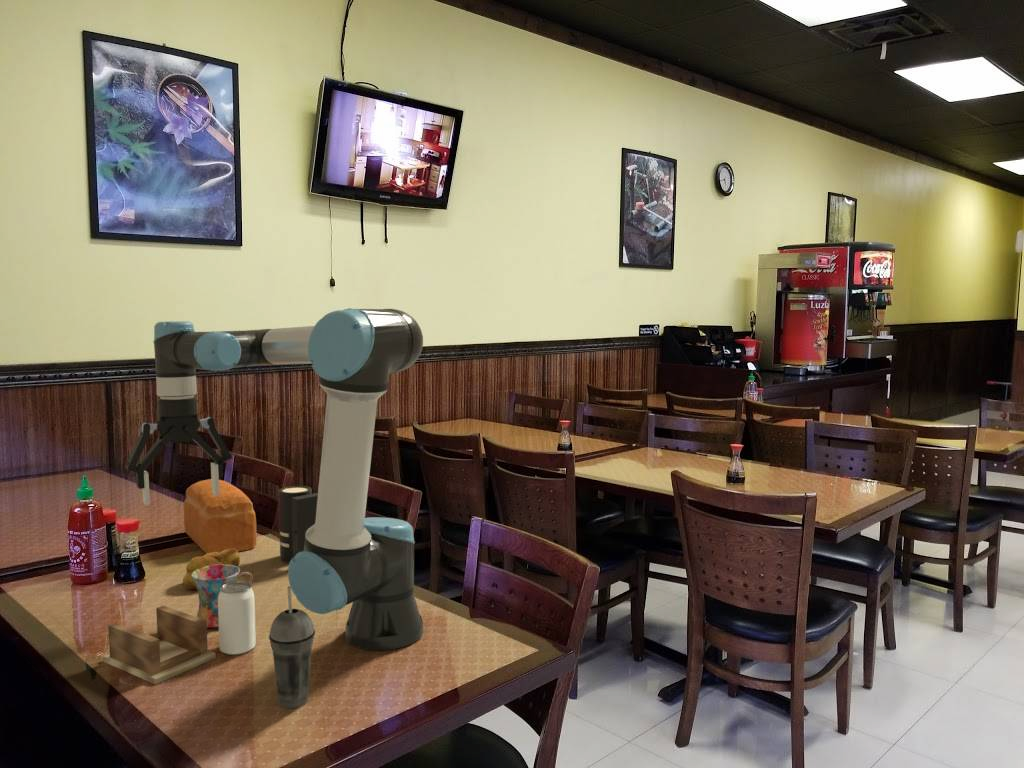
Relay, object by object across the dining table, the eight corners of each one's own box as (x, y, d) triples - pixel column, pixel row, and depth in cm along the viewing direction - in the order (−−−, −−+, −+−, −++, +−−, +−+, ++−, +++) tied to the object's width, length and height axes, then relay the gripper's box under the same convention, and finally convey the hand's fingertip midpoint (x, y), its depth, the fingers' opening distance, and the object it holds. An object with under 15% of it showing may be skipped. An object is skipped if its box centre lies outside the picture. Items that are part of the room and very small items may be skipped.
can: (243, 637, 154) (241, 578, 153) (262, 647, 150) (260, 586, 149) (212, 649, 149) (210, 587, 148) (231, 659, 145) (229, 596, 144)
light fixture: (306, 549, 208) (305, 483, 206) (333, 562, 198) (332, 493, 196) (271, 557, 201) (269, 489, 199) (297, 571, 191) (296, 499, 189)
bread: (231, 525, 230) (230, 472, 228) (260, 549, 209) (258, 490, 207) (181, 533, 222) (179, 478, 220) (205, 558, 201) (203, 497, 199)
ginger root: (191, 596, 175) (190, 561, 175) (171, 585, 182) (170, 551, 181) (245, 581, 185) (244, 548, 184) (224, 571, 191) (223, 539, 191)
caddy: (215, 658, 145) (214, 621, 144) (155, 684, 135) (154, 645, 134) (162, 637, 154) (161, 603, 153) (102, 661, 144) (100, 624, 143)
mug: (200, 635, 155) (198, 583, 154) (187, 620, 162) (185, 570, 161) (261, 620, 162) (259, 570, 161) (245, 606, 170) (244, 558, 168)
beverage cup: (320, 690, 134) (318, 576, 132) (311, 712, 126) (308, 592, 124) (277, 690, 133) (274, 576, 131) (265, 713, 126) (261, 592, 124)
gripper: (233, 391, 172) (237, 486, 174) (106, 399, 157) (112, 504, 159) (244, 394, 166) (248, 493, 168) (113, 403, 151) (119, 512, 153)
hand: (181, 498), depth 163 cm, fingers open, 13 cm apart
